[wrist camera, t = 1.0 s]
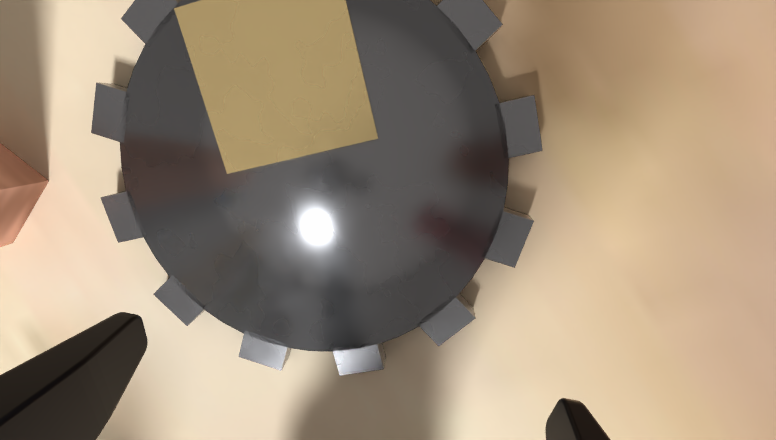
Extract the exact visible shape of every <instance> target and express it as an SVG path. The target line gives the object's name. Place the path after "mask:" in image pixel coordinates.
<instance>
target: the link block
mask: <svg viewBox="0 0 776 440" xmlns="http://www.w3.org/2000/svg"><path fill="white" fill-rule="evenodd" d="M48 182H49V180H47V179H46V178H45V177H43V176H42V175H41V174H39V173H38V172H37V171H36V170H34V169H33V168H32V167H30V166H29V165H28V164H27V163H25V162H24V161H23V160H21V159H20V158H19V157H18V156H16V155H15V154H14V153H12V152H11V151H10V150H8V149H7V148H6V147H5V146H3V145H2V144H1V143H0V247H2V246H5V245H8V244H11V243H13V242H14V240H15V239H16V237H17V235H18V233H19V232H20V230H21V228H22V226H23V225H24V223H25V221H26V220H27V218H28V216H29V214H30V213H31V211H32V209H33V207H34V206H35V204H36V202H37V201H38V199H39V197H40V195H41V194H42V192H43V190H44V188H45V187H46V185H47V183H48Z"/></svg>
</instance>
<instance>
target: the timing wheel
mask: <svg viewBox="0 0 776 440" xmlns="http://www.w3.org/2000/svg"><path fill="white" fill-rule="evenodd" d="M121 19H122V20H123V21H124V22H125V23H126V24H127V25H128V26H129V27H130V28H131V30H132V31H133V32H134V33H135V34H136V35H137V36H138V37H139V38H140V39H141V40H142V41H143V42H144V43H145V46H144V48H143V50H142V52H141V54H140V56H139V58H138V61H137V63H136V65H135V67H134V69H133V72H132V75H131V78H130V81H129V85H128V88H125V87H122V86H118V85H115V84H108V83H96V92H95V101H94V111H93V121H92V130H91V133H93V134H97V135H100V136H103V137H106V138H109V139H112V140H115V141H119V142H120V151H121V166H122V172H123V177H124V183H125V188H126V191H125V192H121V193H116V194H112V195H109V196H105V197H101V200H102V203H103V205H104V208H105V210H106V213H107V215H108V218H109V220H110V223H111V226H112V228H113V231H114V233H115V236H116V238H117V241H118V243H119V242H123V241H128V240H133V239H137V238H142V237H144V239H145V241H146V242H147V244H148V246H149V247H150V249H151V251H152V253H153V254H154V256H155V258H156V259H157V260H158V262H159V263H160V264H161V266H162V267H163V268H164V270H165V271H166V272H167V274H168V275H169V276H170V278H169V279H168V280H167V281H166V282H165V283H164V284H163V285H162V286H161V287H160V288H159V289H158V290H157V291H156V292H155V293H154V295H155V296H156V297H157V298H158V299H159V300H160V301H161V302H162V303H163V304H164V305H165V306H166V307H167V308H168V309H170V310H171V311H172V312H173V313H174V314H175V315H176V316H177V317H178V318H179V319H180V320H181V321H182V322H183V323H184V324H185V325H187V326H188V325H189V324H190V323H191V322H192V321H193V320H195V319H196V318H197V317H198V316H199V315H200V314H201V313H202V312H203V311H204V310H205V311H207V312H208V313H210V314H211V315H213V316H214V317H216V318H217V319H219V320H220V321H222V322H223V323H225V324H227V325H229V326H231V327H233V328H234V329H236V330H238V331H240V332H242V333H244V336H243V341H242V345H241V349H240V353H239V357H241V358H244V359H247V360H250V361H253V362H256V363H259V364H262V365H266V366H269V367H272V368H275V369H278V370H282V368H283V367H284V365H285V363H286V361H287V360H288V357H289V353H290V349H291V348H293V349H300V350H307V351H333V354H334V358H335V361H336V365H337V368H338V372H339V375H340V376H341V375H348V374H355V373H361V372H368V371H375V370H381V369H384V365H385V359H386V356H385V352H384V348H383V344H382V342H385V341H388V340H391V339H393V338H396V337H399V336H401V335H403V334H405V333H407V332H409V331H411V330H413V329H415V328H416V327H418V326H420V327H421V328H422V329H423V330H424V331H425V333H426V334H427V335H428V336H429V337H430V338H431V339H432V340H433V341H434V342H435V343H436V344H437V345H438V346H440V345H441V344H442V343H444V342H445V341H446V340H447V339H449V338H450V337H451V336H453V335H454V334H455V333H457V332H458V331H459V330H461V329H462V328H463V327H465V326H466V325H467V324H469V323H470V322H471V321H472V320H474V319H475V313H474V309H473V307H472V306H471V305H470V304H469V303H468V302H467V301H466V300H465V299H464V298H463V296H462V295H461V294H460V292H461V291H462V289H463V288H464V287H465V286H466V285H467V284H468V282H469V281H470V280H471V279H472V277H473V276H474V274H475V273H476V271H477V270H478V268H479V267H480V265H481V263H482V262H483V260H484V259H485V258H486V259H489V260H492V261H495V262H498V263H502V264H505V265H508V266H511V267H514V268H515V265H516V263H517V261H518V258H519V256H520V253H521V251H522V248H523V246H524V244H525V241H526V239H527V236H528V234H529V231H530V229H531V227H532V224H533V222H534V220H533V219H532V218H531V217H530V216H529V215H527V214H523V213H520V212H517V211H514V210H511V209H508V208H504V204H505V198H506V192H507V186H508V163H509V158H511V157H516V156H520V155H525V154H529V153H534V152H539V151H542V144H541V137H540V130H539V124H538V117H537V110H536V104H535V97H534V95H531V96H526V97H522V98H518V99H514V100H509V101H505V102H501V103H499V101H498V98H497V95H496V93H495V90H494V87H493V85H492V82H491V80H490V77H489V75H488V73H487V71H486V70H485V68H484V66H483V64H482V62H481V60H480V59H479V57H478V55H477V53H476V50H477V49H478V48H480V47H481V46H482V45H483V44H484V43H485V42H486V41H487V40H488V39H489V38H490V37H491V36H492V35H493V34H494V33H495V32H496V31H497V30H498V29H499V28H500V27H501V26H502V25H503V24H502V23H501V22H500V21H499V19H498V18H497V17H496V16H495V15H494V13H493V12H492V11H491V10H490V9H489V7H488V6H487V5H486V4H485V3H484V1H483V0H442V1H441V2H440V3H439V4H438V5H437V6H436V5H435V4H434V3H433V2H431V1H430V0H135V1H134V2H133V4H132V5H131V6H130V7H129V9H128V10H127V11H126V13H125V14H124V15H123V17H122V18H121Z"/></svg>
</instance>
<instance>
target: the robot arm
mask: <svg viewBox="0 0 776 440" xmlns="http://www.w3.org/2000/svg"><path fill="white" fill-rule="evenodd" d="M146 348H147V336H146V333H145V329H144V325H143V321H142V318H141V317H140V316H139V315H135V314H130V313H125V312H120V313H117V314H115V315H113V316H111V317H109V318H107V319H105V320H103V321H101V322H100V323H98V324H96V325H94V326H92V327H90V328H88V329H86V330H85V331H83V332H81V333H79V334H77V335H75V336H73V337H71V338H69V339H68V340H66V341H64V342H62V343H60V344H58V345H56V346H54V347H53V348H51V349H49V350H47V351H45V352H43V353H41V354H39V355H37V356H36V357H34V358H32V359H30V360H28V361H26V362H24V363H22V364H20V365H19V366H17V367H15V368H13V369H11V370H9V371H7V372H5V373H4V374H2V375H0V440H96V439H97V437H98V436H99V434H100V433H101V431H102V430H103V428H104V426H105V425H106V423H107V422H108V420H109V418H110V417H111V415H112V413H113V411H114V410H115V408H116V406H117V404H118V402H119V400H120V398H121V397H122V395H123V393H124V391H125V389H126V387H127V385H128V383H129V381H130V380H131V378H132V376H133V374H134V372H135V370H136V368H137V366H138V364H139V363H140V361H141V359H142V357H143V355H144V353H145V351H146ZM546 440H610V438H609V437H608V436H607V434H606V433H605V432H604V430H603V429H602V428H601V426H600V425H599V424H598V422H597V421H596V420H595V418H594V417H593V416H592V414H591V413H590V412H589V410H588V409H587V408H586V406H585V405H584V404H583V403H581V402H580V401H576V400H571V399H566V398H562V399H560V400H559V401H558V402H557V404H556V406H555V407H554V409H553V411H552V413H551V414H550V416H549V418H548V420H547V423H546Z"/></svg>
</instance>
